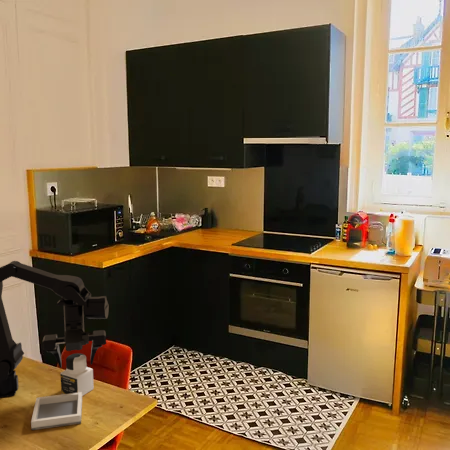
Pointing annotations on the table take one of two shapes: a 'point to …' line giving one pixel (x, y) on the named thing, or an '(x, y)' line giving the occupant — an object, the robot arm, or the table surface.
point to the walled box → (57, 411)
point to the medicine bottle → (76, 375)
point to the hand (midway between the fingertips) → (76, 365)
